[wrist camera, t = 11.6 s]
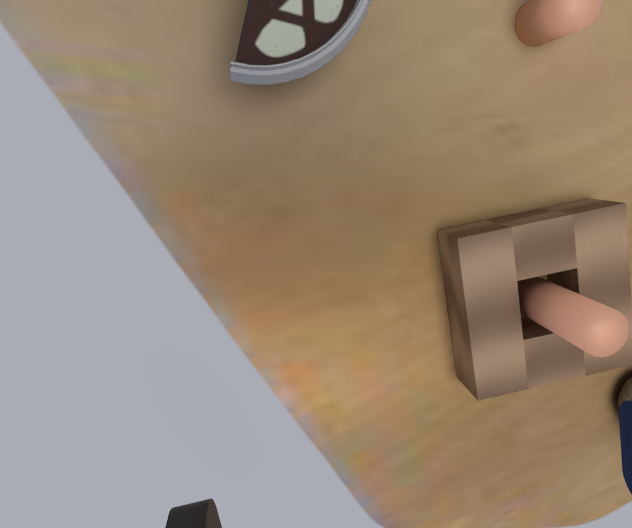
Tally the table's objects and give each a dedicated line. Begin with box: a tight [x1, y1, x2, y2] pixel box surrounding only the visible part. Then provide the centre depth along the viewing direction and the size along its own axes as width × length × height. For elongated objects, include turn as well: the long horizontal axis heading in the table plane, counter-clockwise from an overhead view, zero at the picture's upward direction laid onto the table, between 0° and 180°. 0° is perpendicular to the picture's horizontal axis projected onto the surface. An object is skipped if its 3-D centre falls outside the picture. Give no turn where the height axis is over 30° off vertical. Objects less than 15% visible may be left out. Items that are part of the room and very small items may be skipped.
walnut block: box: [437, 199, 632, 401], centre depth 38 cm, size 12×12×4 cm
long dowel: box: [517, 277, 629, 357], centre depth 35 cm, size 3×3×10 cm
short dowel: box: [515, 0, 602, 46], centre depth 33 cm, size 3×3×5 cm
